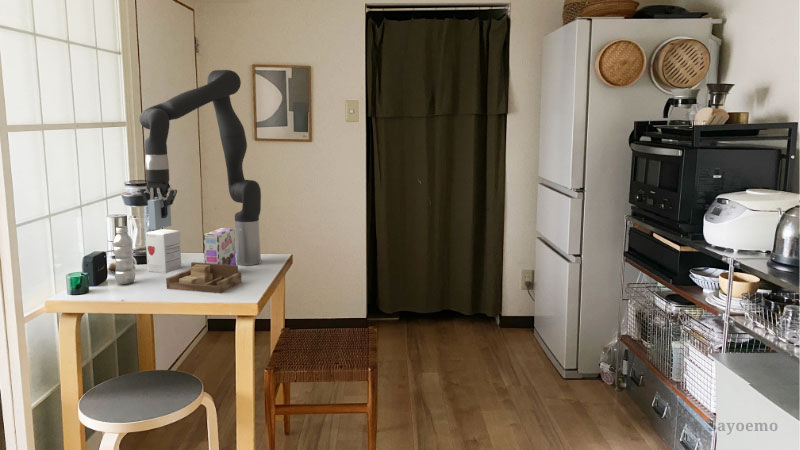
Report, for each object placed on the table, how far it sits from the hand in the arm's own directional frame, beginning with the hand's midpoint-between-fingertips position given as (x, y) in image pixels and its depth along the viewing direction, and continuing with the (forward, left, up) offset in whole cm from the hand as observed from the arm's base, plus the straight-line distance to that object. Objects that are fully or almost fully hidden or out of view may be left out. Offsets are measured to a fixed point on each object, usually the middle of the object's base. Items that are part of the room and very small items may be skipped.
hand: (160, 217), depth 224 cm
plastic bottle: (+6, -11, -23) cm, 26 cm away
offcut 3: (+2, +16, -22) cm, 27 cm away
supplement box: (-15, -10, -23) cm, 30 cm away
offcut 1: (+7, +15, -22) cm, 27 cm away
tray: (+4, +19, -23) cm, 30 cm away
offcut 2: (+2, +16, -19) cm, 25 cm away
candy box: (-15, +14, -23) cm, 31 cm away
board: (0, 0, -4) cm, 4 cm away
